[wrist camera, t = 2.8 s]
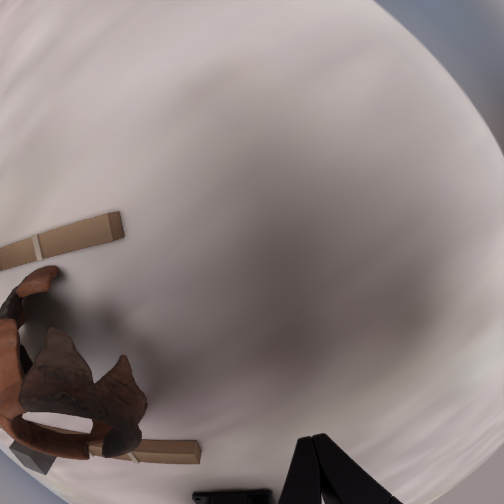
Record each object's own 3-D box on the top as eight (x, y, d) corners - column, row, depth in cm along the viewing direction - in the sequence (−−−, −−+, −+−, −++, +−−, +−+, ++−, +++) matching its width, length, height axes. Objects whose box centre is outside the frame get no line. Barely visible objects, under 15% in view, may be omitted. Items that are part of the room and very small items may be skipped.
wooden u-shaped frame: (212, 471, 16) (209, 505, 12) (2, 433, 16) (-11, 449, 13) (109, 154, 11) (72, 146, 8) (-76, 252, 12) (-97, 259, 9)
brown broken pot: (93, 227, 13) (77, 366, 6) (160, 340, 18) (190, 449, 12) (-42, 298, 10) (-75, 405, 4) (36, 380, 16) (37, 473, 10)
